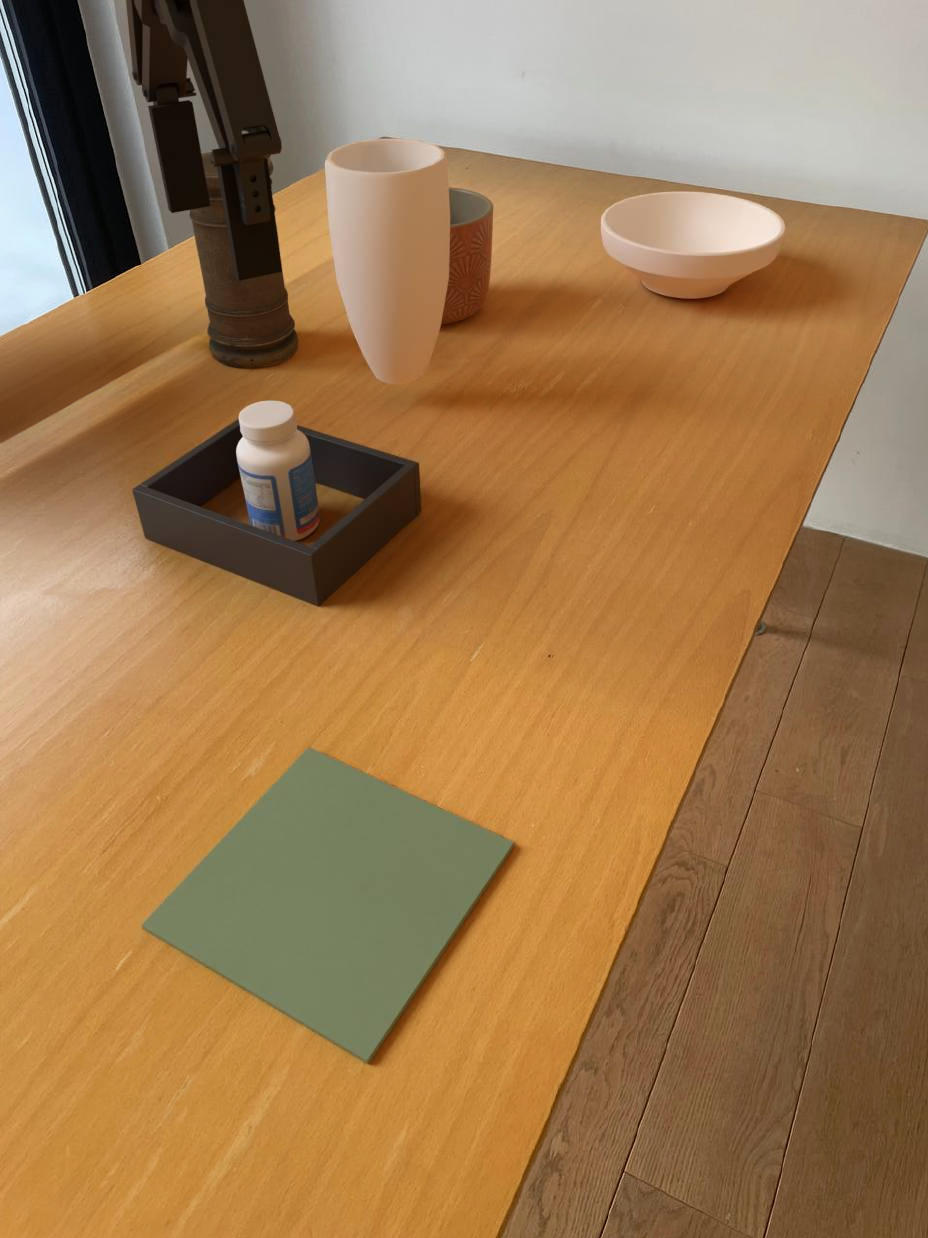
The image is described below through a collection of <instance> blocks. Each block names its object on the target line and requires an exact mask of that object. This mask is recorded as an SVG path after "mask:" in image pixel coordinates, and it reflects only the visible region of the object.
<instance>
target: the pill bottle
mask: <svg viewBox="0 0 928 1238" xmlns="http://www.w3.org/2000/svg"><path fill="white" fill-rule="evenodd" d="M238 419H239V423H240V431H241V434H242V436H243V437H242V438H241V440H240V441H239V443H238V445H237V449H236V455H237V461H238V467H239V471H240V476H241V477H240V480H241V485H242V490H243V495H244V500H245V504H246V509H247V514H248V519H249V525H251V526H254V527H257V528H260V529H262V530H265V531H268V532H271V533H273V534H276V535H279V536H282V537H284V538H287V539H290V540H292V541H295V542H297V541H299V540H302V539H304V538H307V537H309V535H311V534H312V533H313V532H314V531H315V530H316V529H317V528H318V526H319V524H320V522H321V521H320V520H321V514H320V506H319V499H318V493H317V492H318V491H317V486H316V485H317V484H316V482H315V478H314V471H313V464H312V458H311V451H310V446H309V442H308V439H307V437H306V436H305V435H304V434H303V433H302V432H301V431H299V430H297V425H298V424H297V419H296V414H295V410H294V408H293V406H292V405H290V404H289V403H287V402H284V401H282V400H281V401H280V400H261V401H257V402H254V403H251V404H248V405H247V406H245V407H244V408H243V409H242V410H241V411H240V412H239V414H238Z"/></svg>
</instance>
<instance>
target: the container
mask: <svg viewBox="0 0 928 1238" xmlns="http://www.w3.org/2000/svg"><path fill="white" fill-rule="evenodd" d="M211 152H212V151H209V152H204V153H201V154H202V160H203V166H204V172H205V177H206V183H207V189H208V195H209V201H210V206H209V207H203V208H198V209H192V210H189V213H188V214H189V215H188V216H189V219H190V220H191V224H192V230H193V235H194V240H195V246H196V251H197V256H198V260H199V266H200V271H201V276H202V281H203V288H204V294H205V298H204V304H205V308H206V310H207V315H208V320H209V323H208V327H207V335H208V337H209V340H208V348H209V351H210V353H211V355H212V357H213V358H214V359H215V360H216V361H217V362H219V363H221V364H223V365H226V366H228V367H235V368H243V369H255V368H266V367H270V366H274V365H277V364H280V363H283V362H284V361H287V360H288V359H290V358H291V357H292V356H293V355H295V354H296V353H297V351H298V347H299V336H298V333H297V331H296V329H295V327H296V322H295V319H294V317H292V314H291V313H290V305H289V294H288V291H287V290H288V289H286V285H285V280H284V279H285V278H284V271H283V270H282V272H279V273H274V274H269V275H265V276H260V277H255V278H251V279H246V280H241V281H239V280H238V279H237V278H236V277H235V274H234V268H233V262H232V255H231V249H230V243H229V237H228V231H227V225H226V219H225V213H224V207H223V201H222V195H221V189H220V183H219V177H218V171H217V167H212V165H211V164H210V161H209V160H210V156H211ZM267 159H268V167H269V174H270V182H271V189H272V188H273V187H272V186H273V179H272V177H271V176H272V174H273V172H274V164H273V162H272V160H271V157H270V158H267ZM274 212H275V213H276V206H275V205H274ZM276 227H277V225H276ZM277 228H278V227H277ZM277 234H278V235H279V233H278V231H277ZM278 242H279V243H280V240H279V239H278ZM281 264H282V262H281Z"/></svg>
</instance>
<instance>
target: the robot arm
mask: <svg viewBox="0 0 928 1238" xmlns="http://www.w3.org/2000/svg"><path fill="white" fill-rule="evenodd" d="M125 6H126V16H127V26H128V37H129V38H128V39H129V47H130V59H131V67H132V71H131V75H132V79H133V81H134V82H135V84H136V86H141V92H142V96H143V97H144V99H145V100H146V102H147V103H152V105H148V106H147V107H148V114H149V118H150V123H151V128H152V133H153V138H154V143H155V148H156V153H157V158H158V164H159V168H160V172H161V178H162V184H163V189H164V193H165V198H166V202H167V208H168V211H169V212H170V213H171V214H175V213H181V212H186V211H190V210H192V209H198V208H203V207H209V206H210V201H209V195H208V189H207V183H206V177H205V172H204V166H203V160H202V154H203V153H202V148H201V144H200V138H199V132H198V125H197V121H196V114H195V110H194V103H193V101H191V100H190V99H187V100H180V99H182V98H183V99H184V98H191V97H196V96H197V94H198V93H197V91H196V89H195V86H194V84H193V82H192V78H191V77H188V64H189V66H190V69H191V72H192V74H193V77H194V80H195V83H196V86H197V89H198V92H199V95H200V97H201V100H202V104H203V106H204V109H205V112H206V115H207V118H208V120H209V123H210V126H211V130H212V132H213V135H214V138H215V140H216V143H217V146H218V148H214V149H211V151H210V152H211V156H210V160H209V161H210V164H211V165H212V167H217V171H218V177H219V183H220V189H221V195H222V201H223V207H224V213H225V219H226V225H227V231H228V237H229V243H230V249H231V255H232V262H233V268H234V274H235V277H236V278H237V279H238V280H239V281H241V280H246V279H251V278H255V277H260V276H265V275H269V274H274V273H279V272H282V271H283V265H282V264H281V263H282V258H281V249H280V241H279V242H278V240H279V233H278V234H277V232H278V227H276V226H277V219H276V211H275V212H274V206H275V203H274V198H273V190H272V189H271V186H272V185H271V182H270V178H271V176H270V174H269V167H268V159H267V158H270V159H271V156H273V155H278V154H281V152H282V149H283V145H282V138H281V136H280V133H279V130H278V125H277V122H276V118H275V115H274V114H275V113H274V110H273V106H272V103H271V98H270V96H269V95H270V94H269V92H268V88H267V84H266V80H265V77H264V72H263V69H262V65H261V60H260V58H259V54H258V53H259V52H258V50H257V46H256V42H255V39H254V34H253V30H252V27H251V24H250V19H249V16H248V12H247V8H246V4H245V1H244V0H125ZM195 91H196V92H195ZM243 132H246V133H243Z"/></svg>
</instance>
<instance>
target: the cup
mask: <svg viewBox="0 0 928 1238" xmlns="http://www.w3.org/2000/svg"><path fill="white" fill-rule="evenodd" d="M447 155H448V154H447V153H446V152H445V150H444V149H442V148H441V147H439V146H438V145H437V144H434V143H430V142H427V141H423V140H417V139H409V138H374V139H367V140H360V141H354V142H351V143H348V144H344V145H340V146H338V147H336V148H335V149H334V150H331V151H330V152H328V154H327V156H326V159H325V162H324V173H325V189H326V190H325V191H326V206H327V207H326V208H327V220H328V221H327V223H328V232H329V238H330V245H331V252H332V259H333V267H334V273H335V279H336V283H337V286H338V289H339V293H340V296H341V299H342V302H343V306H344V310H345V313H346V315H347V319H348V322H349V326H350V328H351V331H352V333H353V335H354V337H355V340H356V342H357V344H358V347H359V349H360V351H361V354H362V357H363V358H364V360H365V361H366V363H367V365H368V367H369V368H370V370H371V372H372V374H373V375H374V377H375V378H376V379H377V380H378V381H379V382H382V383H384V384H389V385H390V384H391V385H404V384H409V383H414V382H416V381H418V380H420V379H421V378H422V377H423V376H424V375H425V373H426V370H427V368H428V366H429V363H430V361H431V360H432V359H431V358H432V356H433V353H434V350H435V346H436V343H437V340H438V337H439V333H440V330H441V326H442V324H441V321H442V315H443V309H444V304H445V298H446V292H447V286H448V280H449V254H450V203H449V187H450V186H449V173H448V172H449V171H448V170H449V169H448V156H447Z"/></svg>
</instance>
